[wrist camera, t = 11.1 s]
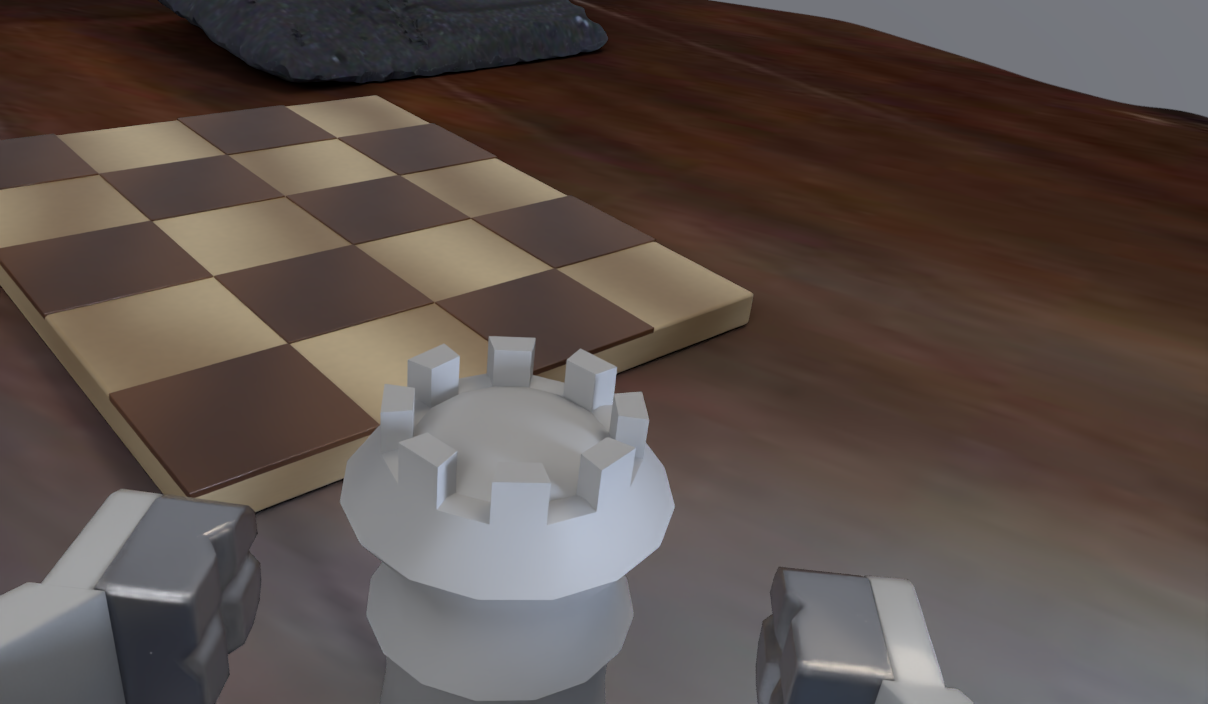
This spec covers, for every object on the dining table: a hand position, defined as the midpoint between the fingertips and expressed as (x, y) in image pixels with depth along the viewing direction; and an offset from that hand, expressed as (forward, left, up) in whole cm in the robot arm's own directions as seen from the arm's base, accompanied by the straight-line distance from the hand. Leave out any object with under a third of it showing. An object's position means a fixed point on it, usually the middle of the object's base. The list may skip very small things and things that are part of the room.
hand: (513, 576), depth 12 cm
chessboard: (-7, -18, -5) cm, 20 cm away
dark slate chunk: (-23, -40, -5) cm, 47 cm away
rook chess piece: (+1, +1, -5) cm, 5 cm away
